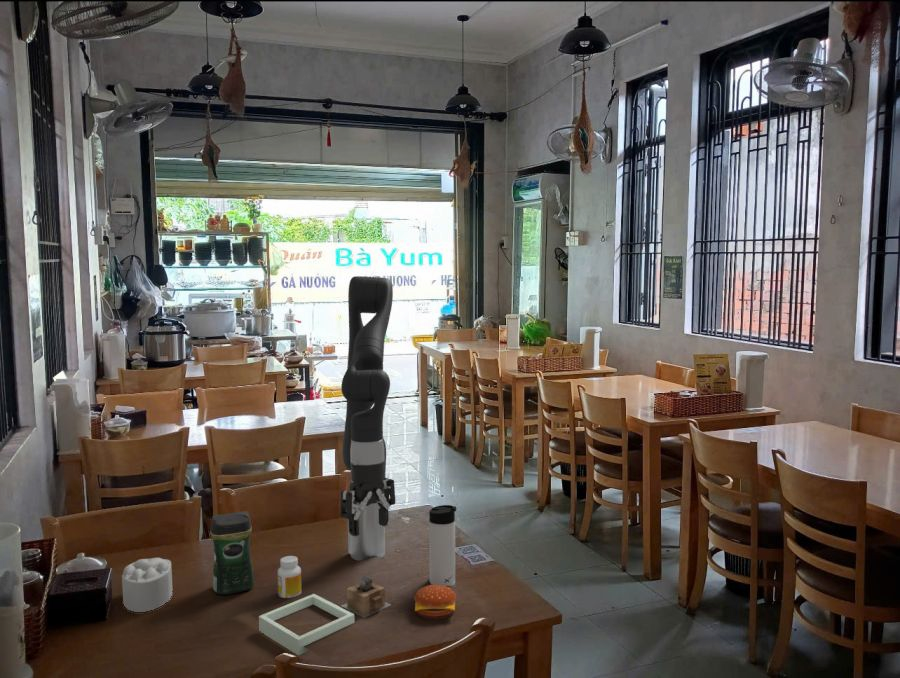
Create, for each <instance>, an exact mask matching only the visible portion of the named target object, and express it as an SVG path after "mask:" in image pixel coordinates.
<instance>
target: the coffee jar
mask: <svg viewBox="0 0 900 678" xmlns="http://www.w3.org/2000/svg"><path fill="white" fill-rule="evenodd" d="M210 524H211V525H210V531H209V532H210V537H211V540H212V542H213V571H212V589H213V591H214V592H215V593H216V594H218V595H230V594H235V593H241V592H246V591H249V590H250V589H252V588H253V587H254V586H255V576H254V568H253V567H254V566H253V561H252V555H251V546H250V537H251V534H252V531H253V530H252V523H251V518H250V515H249V512H248V511H246V510H244V511H237V512H229V513H224V514H222V513H221V514H214V515H212V517H211V521H210Z"/></svg>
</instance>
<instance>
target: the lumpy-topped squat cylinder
mask: <svg viewBox="0 0 900 678" xmlns="http://www.w3.org/2000/svg"><path fill="white" fill-rule="evenodd" d="M172 571H173V570H172V561H171V560H170V559H168V558H166V559H165V558H161V557H151V558H141V559H137V560H136V561H134V562H132V563H130V564H128V565H126V566H125V567H124V569H123V572H122V575H121V587H122V605H123V604H124V606H125V607H126V608H127V609H128V610H131V611H134V612H146V611H150V610H153V611H155V610H154V609H156V608H158V607H160V606H162V605H164V604H165V603H166V602H168V601H169V600H170V601H171V599H172V597H173V592H172V591H173V575H172V573H173V572H172ZM171 596H172V597H171ZM170 598H171V599H170ZM170 601H169V602H170ZM169 602H168V603H169ZM165 605H166V604H165ZM165 605H164V606H165ZM124 606H123V607H124ZM162 607H163V606H162ZM160 608H161V607H160ZM158 609H159V608H158ZM128 610H127V611H128ZM156 610H157V609H156ZM150 612H151V611H150Z"/></svg>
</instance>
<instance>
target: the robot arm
mask: <svg viewBox="0 0 900 678" xmlns="http://www.w3.org/2000/svg"><path fill="white" fill-rule="evenodd" d="M393 289H394V287H393V283H392V281H391V280H390V279H389V278H385V277H379V276H378V277H377V276H359V275H358V276H352V277H351V279H350V280H349V284H348V293H347V294H348V295H347V298H348V299H347V300H348V301H347V306H348V349H347V350H348V351H347V352H348V353H347V367H346V371H345V373H344V375H343V377H342V380H341V394H342V396H343V398H344V399H345V400H346V411H345V412H346V414H345V423H344V429H343V432H344V433H343V441H342V460H343V464H344V467H345V468H346V469H347V470H348V471H350V480H351V482H350V484H349V490H345V489H343V490H341V492H340V511H339V514H340V517H341V518H343V519H346V520H347V531H348V532H347V534H348V535H347V541H348V542H347V543H348V544H347V547H348V549H347V551H348V552H347V553H348V554H349V555H350V557H351V559H352V560H355V561H356V562H360V561H364V560H366V559H369V558H371V557H376V556H377V557H378V558H381V559H383V558H384V557H385V555H386V534H385V533H386V531H385V530H386V528H385V527H387V526H388V522H389V521H390V520H389V510H390V507H391V506H395V504H396V491H395V490H396V488H395V479H391V478H388V477H386V474H387V473H386V472H387V471H386V470H387V469H386V468H387V467H386V466H387V445H386V441H385V438H384V434H383V433H384V428H383V427H384V425H383V424H384V413H385V412H384V411H385V408H386V402H387V400H388V396H389V393H390V387H391V379H390V377H389V375H388V373H387V372H386V371H385V370H384V355H385V351H384V350H385V339H386V335H387V331H388V327H389V322H390V318H391V313H392V307H393V298H394V297H393V296H394V295H393V294H394V293H393V292H394V290H393ZM361 314H374V315H373V317H372V318H371V319H370V320H369V321H368V322H367V323H366V324H364V323H363V320H362V315H361Z"/></svg>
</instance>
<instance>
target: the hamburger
mask: <svg viewBox="0 0 900 678" xmlns="http://www.w3.org/2000/svg"><path fill="white" fill-rule="evenodd" d="M451 588H452V587H451ZM451 588H450V586H443V585H433V584H428V585H426V586H423V587H420V588H419V589H418V590H417V591H416V593H415V594H414V596H413V599H414V601H415V603H414V612H416V614H417V615H418V616H419V617H422V618H424V619H428V620H434V621H435V620H443V619H447V618H449V617H451V616H452V615H453V614H454V613H455V611H456V607H457V605H456V603H457V602H456V601H457V600H456V599H457V594H456V593H455V591H454V590H453V589H451Z"/></svg>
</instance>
